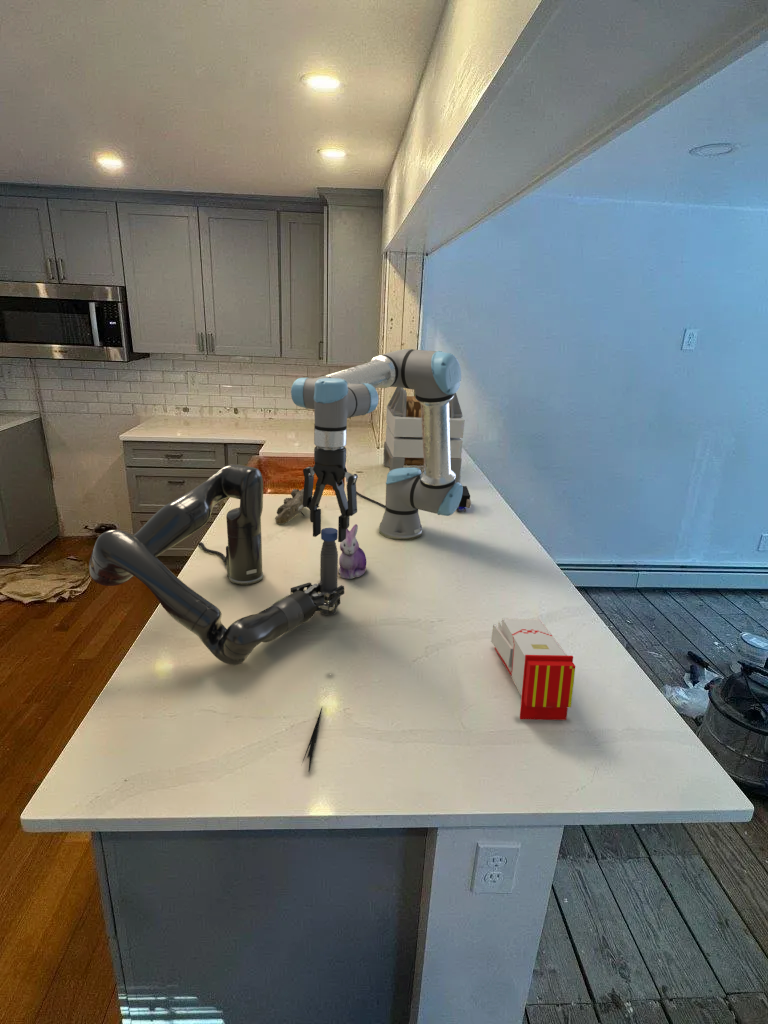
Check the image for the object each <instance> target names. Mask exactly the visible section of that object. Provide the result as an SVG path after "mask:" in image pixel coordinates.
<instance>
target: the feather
mask: <svg viewBox="0 0 768 1024" xmlns="http://www.w3.org/2000/svg"><path fill="white" fill-rule="evenodd" d="M329 675H330V676H331V675H332V674H331V673H330V674H329ZM322 710H323V707H321V708H320V710H319V713H318V716H317V719H316V723H315V725H314V728H313V731H312V733H311V737H310V739H309V742H308V745H307V748H306V751H305V754H304V757H303V760H302V763H301V767H302V765H303V763H304V761H305V758H308V759H309V760H308V762H307V763H308V764H307V766H308V771H310V770H311V766H312V765H311V764H312V760H313V757H315V756H314V755H315V751H316V749H315V746H317V739H318V733H319V729H320V722H321V717H322V712H323V711H322ZM313 754H314V755H313ZM306 755H307V757H306Z"/></svg>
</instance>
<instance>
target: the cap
mask: <svg viewBox="0 0 768 1024" xmlns="http://www.w3.org/2000/svg"><path fill="white" fill-rule="evenodd" d="M320 539H321V540H322V541H323V542H324V541H335V542H336V541H338V529H337V528H335V527H324V528H321V534H320Z"/></svg>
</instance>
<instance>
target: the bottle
mask: <svg viewBox="0 0 768 1024" xmlns="http://www.w3.org/2000/svg"><path fill="white" fill-rule="evenodd" d="M319 555H320V557H319V558H320V563H319V564H320V568H319V569H320V570H319V571H320V575H319V583H320V592H319V593H321V592H324V591H327V592H330V591H333V590H334V589H336V588H337V587H338V573H339V567H338V566H339V565H338V564H339V552H338V548H337V543H336V540H335V541H324V540H323V542H322V544H321V550H320V554H319ZM330 598H331V596H330V597H329V599H330ZM319 612H320V614H321V615H325V616H332V615H335V614H336V613H337V612H338V607H337V608H336V609H335V611H334V612H333V613H328V610H326V609H322V610H321V611H319Z"/></svg>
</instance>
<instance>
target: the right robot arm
mask: <svg viewBox="0 0 768 1024" xmlns="http://www.w3.org/2000/svg"><path fill="white" fill-rule="evenodd" d="M461 381H462V368H461V365H460V361H459V360H458V358H457V357H456V355H455V354H453V353H451V352H445V351H442V350H441V351H440V350H428V349H427V350H426V349H413V348H404V349H397V350H393V351H390V352H386V353H383V354H380V355H376V356H374V357H373V358H372V359H371V360H370V361H368V362H365V363H362V364H358V365H356V366H353V367H349V368H345V369H342V370H339V371H336V372H332V373H329V374H325V375H323V376H318V377H315V378H314V377H313V378H310V377H307V376H306V377H298V378H297V379H295V380H294V381H293V383H292V385H291V387H290V388H291V389H290V395H291V396H290V397H291V400H292V402H293V404H295V405H296V406H297V407H300V408H304V409H305V410H314V423H313V424H314V425H313V427H314V429H313V430H314V431H313V445H314V446H315V447H314V450H313V459H314V460H313V461H314V464H313V466H311V465H309V466H307V467H305V468H303V469H302V474H303V478H304V482H303V489H304V493H303V506H304V508H307V509H308V510H309V516H310V517H309V521H310V523H312V537H314V538H316V537H318V536H319V535H321V530H322V509H321V508H319V507H320V502H321V500H322V496H323V494H324V491H325V487H326V486H327V485H328V486H330V487H332V490H333V491H334V493H335V497H336V501H337V504H338V508H339V511H340V515H339V516H338V524H337V525H338V529H337V530H338V539H337V542H338V543H341V542H342V541H343V540H345V539H346V529H347V528H348V529H349V527H350V517H352V516H354V515H355V514H357V513H358V498H357V495H358V496H359V497H361V498H364V499H365V500H367V501H370V502H372V503H374V504H376V505H379V506H380V507H383V508H385V509H384V513H383V515H382V519H381V522H379V526H378V533H379V534H380V535H381V536H382V537H385V538H387V539H389V540H395V541H410V540H415V539H418V538H420V537H421V536H422V535H423V525H422V524H421V518H420V515H419V510H420V511H424V512H428V513H432V514H436V515H437V516H445V517H450V516H452V515H453V514H454V513H456V511H457V508H458V506H459V503H460V501H461V498H462V493H463V486H464V485H463V484H462V483H461V482H456V475H455V473H454V472H453V471H452V470H451V461H450V423H449V401H450V400H451V399H452V398H453V397H454V393H456V394H457V392H458V391H459V389H460V387H461ZM397 387H400V388H403V389H408V390H414V396H415V398H416V400H417V401H418V402H420V403H421V419H422V438H423V456H424V466H423V471H422V470H421V468H419V467H404V468H398V469H393V470H391V471H390V470H389V471H388V472H387V475H386V480H385V504H383V503H381V502H379V501H376V500H374V499H372V498H370V497H368V496H365V495H363V494H361V493H360V492H358V491H357V481H358V478H359V477H358V476H359V475H358V474H357V473H351V472H349V471H348V470H347V469H348V468H346V467H347V466H346V465H347V464H346V463H347V448H346V446H347V436H348V435H347V431H348V419H349V418H353V417H359V416H366V415H367V414H370V413H372V412H374V411H375V410H376V409H377V407H378V404H379V393H378V391H377V388H379V389H387V388H397ZM315 476H316V477H317V480H316V483H315V489H314V482H315V481H314V480H315ZM344 479H345V483H346V491H345V484H344Z"/></svg>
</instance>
